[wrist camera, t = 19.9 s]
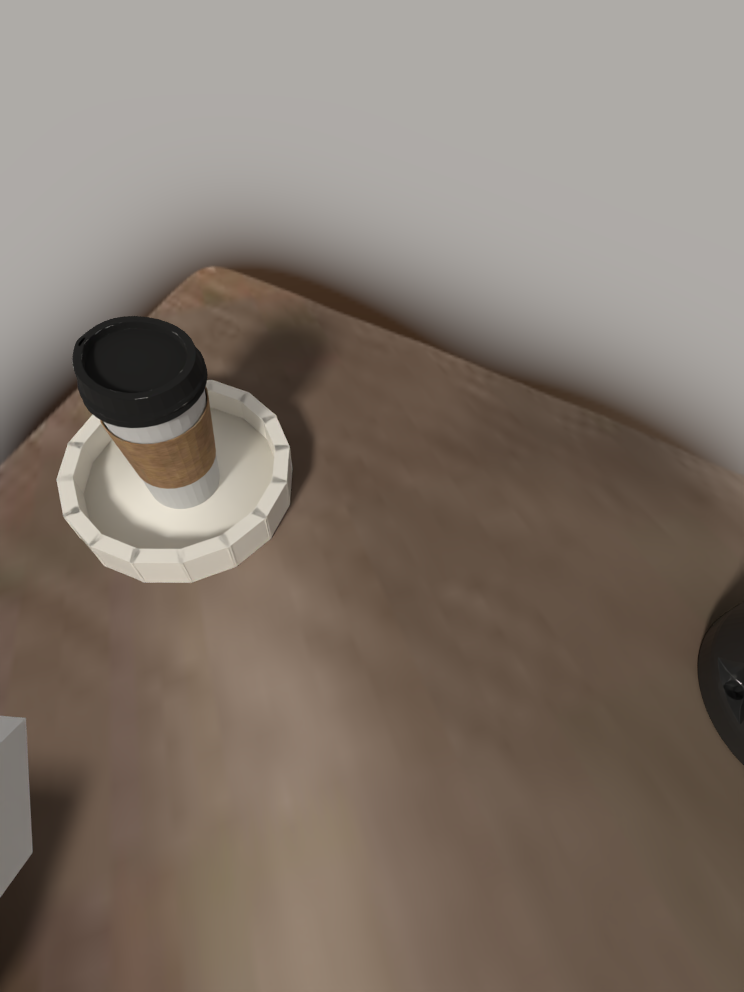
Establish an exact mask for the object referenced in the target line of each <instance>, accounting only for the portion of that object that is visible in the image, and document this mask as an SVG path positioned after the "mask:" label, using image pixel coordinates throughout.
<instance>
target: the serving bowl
mask: <svg viewBox="0 0 744 992" xmlns="http://www.w3.org/2000/svg"><path fill="white" fill-rule="evenodd" d="M206 387H207V390H208V396H209V403H210V410H211V418H212V425H213V432H214V439H215V447H216V456H217V461H218V467H219V473H220V480H219V484H218V487H217V489H216V491H215V492H214V493H213V495H212V496H211V497H210V498H209V499H207V500H206V501H205V502H203V503H201V504H200V505H197V506H195V507H192V508H187V509H174V508H170V507H166V506H164V505H162V504H161V503H159V502H158V501H157V500H156V499H155V498H154V497H153V495H152V494H151V492H150V491H149V489H148V488H147V486H146V485H145V483H144V482H143V480H142V479H141V478H140V477H139V475H138V474H137V473H136V471H135V470H134V469H133V467H132V466H131V464H130V463H129V462H128V460H127V459H126V458H125V456H124V455H123V453H122V452H121V451H120V449H119V448H118V447H117V445H116V444H115V442H114V441H113V440H112V438H111V437H110V436H109V434H108V433H107V431H106V430H105V429H104V427H103V426H102V424H101V422H100V419H98V418H96V417H95V416H94V415H92V416H91V417H90V418H89V420H88V421H87V422H86V423H85V424H84V425H83V427H82V428H81V429H80V430H79V431H78V432H77V434H76V435H75V436H74V437H73V438H72V439H71V441H70V442H69V443H68V446H67V449H66V452H65V455H64V458H63V461H62V464H61V467H60V471H59V474H58V477H57V478H56V479H57V480H56V481H57V484H58V489H59V495H60V500H61V506H62V511H63V516H64V518H65V520H66V521H67V522H68V523H69V525H70V526H71V527H72V528H73V530H74V531H75V532H76V534H77V535H78V536H79V537H80V539H82V540H83V541H84V542H85V543H86V545H87V546H88V547H89V548H90V549H91V550H92V552H93V553H94V554H95V555H96V556H97V557H98V559H99V560H100V561H101V563H102V564H103V565H104V566H105V567H109V568H111V569H113V570H116V571H118V572H121V573H123V574H125V575H128V576H130V577H133V578H135V579H138V580H140V581H142V582H145V583H146V582H168V583H193V582H194V581H197V580H200V579H203V578H206V577H209V576H211V575H214V574H217V573H220V572H223V571H226V570H228V569H231V568H234V567H237V566H238V565H239V564H240V563H241V562H243V561H244V560H245V559H246V558H248V557H249V556H250V555H251V554H253V553H254V552H255V551H256V550H257V549H259V548H260V547H261V546H262V545H264V544H265V543H266V542H267V541H269V540H270V539H271V538H272V536H273V534H274V532H275V530H276V528H277V527H278V525H279V523H280V521H281V519H282V518H283V516H284V514H285V512H286V511H287V509H288V507H289V506H290V496H291V482H292V471H293V468H292V460H291V452H290V445H289V444H288V442H287V440H286V437H285V435H284V433H283V431H282V428H281V426H280V424H279V421H278V419H277V416H276V415H275V414H274V413H273V412H271V411H270V410H269V409H268V408H267V407H266V406H264V405H263V404H262V403H261V402H260V401H258V400H257V399H256V398H255V397H254V396H253V395H251V394H250V393H249V392H246V391H243V390H240V389H237V388H235V387H232V386H229V385H226V384H223V383H220V382H217V381H214V380H207V384H206Z"/></svg>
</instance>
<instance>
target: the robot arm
mask: <svg viewBox="0 0 744 992" xmlns="http://www.w3.org/2000/svg"><path fill="white" fill-rule="evenodd" d="M698 677H699V685H700V690H701V694H702V698H703V701H704V704H705V707H706V710H707V712H708V714H709V717H710V719H711V721H712V723H713V725H714V727H715V728H716V730H717V732H718V733H719V735H720V736H721V738H722V739H723V741H724V742H725V744H726V745H727V746H728V748H729V749H730V750H731V752H732V753H733V754H734V755H735V756H736V758H737V759H738V760H739V761H740V762H741V763H742V764H743V765H744V602H742V603H741V604H739V605H737V606H736V607H734V608H733V609H731V610H730V611H728V612H727V613H725V614H724V615H723V616H721V617H720V618H719V619H718V620H717V621H716V622H715V623H714V624H713V625H712V626H711V627H710V629H709V630H708V632H707V634H706V636H705V638H704V640H703V642H702V645H701V649H700V653H699V660H698ZM32 853H33V849H32V830H31V810H30V790H29V771H28V751H27V732H26V718H19V717H8V716H0V897H1V896H2V894H3V893H4V892H5V890H6V889H7V887H8V886H9V885H10V883H11V882H12V881H13V879H14V878H15V876H16V875H17V874H18V872H19V871H20V869H21V868H22V867H23V865H24V864H25V862H26V861H27V860H28V858H29V857H30V856H31V854H32Z"/></svg>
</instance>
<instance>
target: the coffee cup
mask: <svg viewBox="0 0 744 992" xmlns="http://www.w3.org/2000/svg"><path fill="white" fill-rule="evenodd" d="M72 361H73V368H74V371H75V374H76V377H77V380H78V390H79V393H80V396H81V398H82V399H83V402H84V404H85V406H86V407H87V409H88V410H89V412H91V413H92V414H93V415H94V416H95V417H96V418H98V419H100V422H101V424H102V426H103V427H104V429H105V430H106V431H107V433H108V434H109V436H110V437H111V438H112V440H113V441H114V442H115V444H116V445H117V447H118V448H119V449H120V451H121V452H122V453H123V455H124V456H125V458H126V459H127V460H128V462H129V463H130V464H131V466H132V467H133V469H134V470H135V471H136V473H137V474H138V475H139V477H140V478H141V479H142V480H143V482H144V483H145V485H146V486H147V488H148V489H149V491H150V492H151V494H152V495H153V497H154V498H155V499H156V500H157V501H158V502H159V503H161V504H162V505H164V506H166V507H170V508H174V509H187V508H192V507H195V506H197V505H200V504H201V503H203V502H205V501H206V500H207V499H209V498H210V497H211V496H212V495H213V493H214V492H215V491H216V489H217V487H218V484H219V480H220V473H219V467H218V461H217V456H216V447H215V439H214V432H213V425H212V418H211V410H210V403H209V396H208V390H207V387H206V384H207V368H206V365H205V361H204V358H203V356H202V354H201V352H200V351H199V350H198V349H197V348H196V347H195V345H194V343H193V341H192V340H191V338H190V337H189V336H188V335H187V334H186V333H185V332H184V331H183V330H181V329H180V328H178V327H177V326H175V325H173V324H170V323H168V322H165V321H162V320H159V319H154V318H149V317H138V316H128V317H119V318H113V319H110V320H107V321H104V322H102V323H100V324H98V325H96V326H95V327H93V328H92V329H90V330H89V331H88V332H86V333H85V334H84V335H83V336H81V337H80V338H79V339H78V340H77V342H76V344H75V347H74V352H73V360H72Z"/></svg>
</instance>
